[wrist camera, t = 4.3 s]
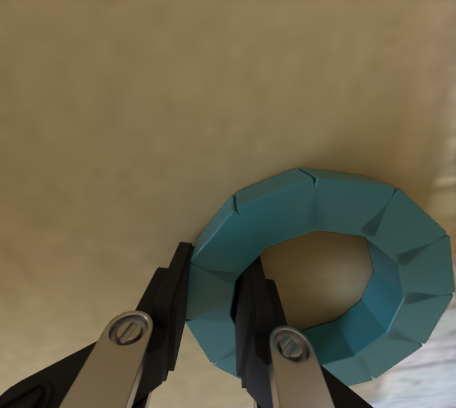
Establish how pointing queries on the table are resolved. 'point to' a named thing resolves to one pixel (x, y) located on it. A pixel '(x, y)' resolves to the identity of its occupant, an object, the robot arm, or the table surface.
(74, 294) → the table surface
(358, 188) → the teal ring
